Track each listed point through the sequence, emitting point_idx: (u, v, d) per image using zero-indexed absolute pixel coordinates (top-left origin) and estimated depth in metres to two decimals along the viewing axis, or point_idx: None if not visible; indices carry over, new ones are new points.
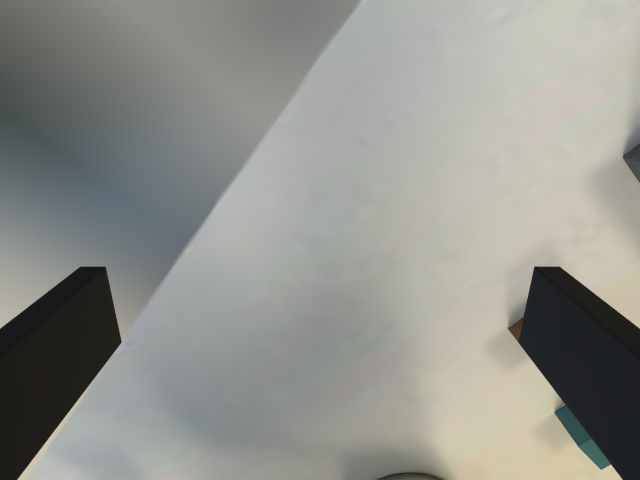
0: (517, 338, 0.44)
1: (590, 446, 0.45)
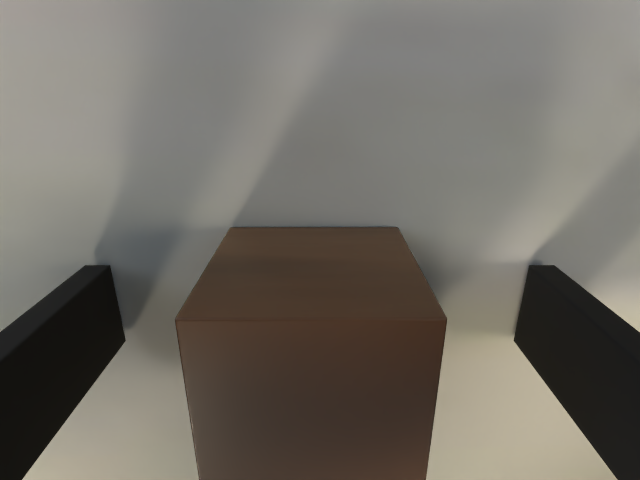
0: (220, 254, 0.10)
1: None
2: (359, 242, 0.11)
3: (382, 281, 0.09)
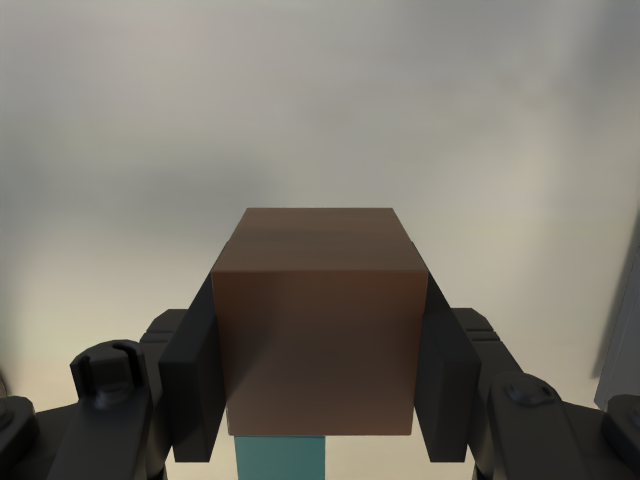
0: (241, 227, 0.12)
1: (252, 449, 0.23)
2: (359, 218, 0.13)
3: (377, 246, 0.11)
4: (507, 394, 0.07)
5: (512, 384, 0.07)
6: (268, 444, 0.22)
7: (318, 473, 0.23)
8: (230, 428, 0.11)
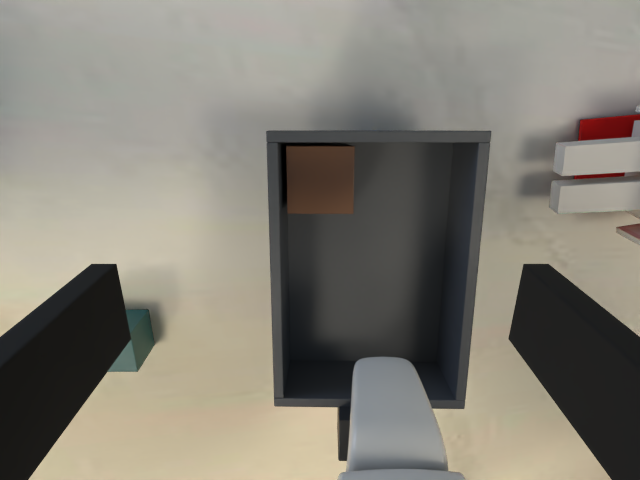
0: None
1: None
2: (336, 145, 0.33)
3: None
4: None
5: None
6: None
7: (131, 354, 0.44)
8: (288, 210, 0.31)
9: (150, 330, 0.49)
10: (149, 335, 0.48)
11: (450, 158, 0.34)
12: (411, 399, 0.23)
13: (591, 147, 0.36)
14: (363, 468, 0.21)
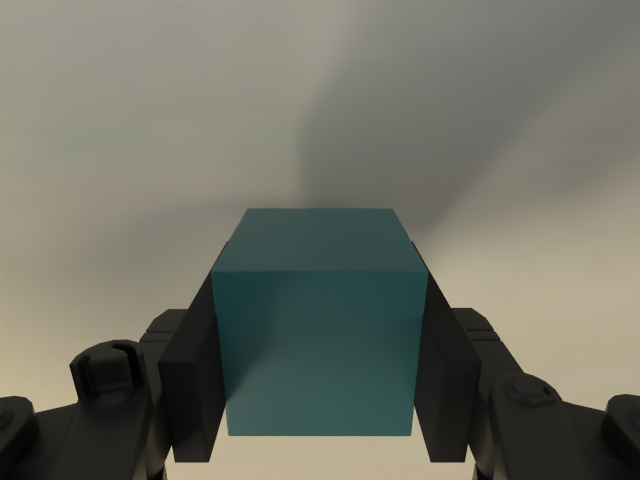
0: None
1: (254, 304, 0.10)
2: None
3: None
4: (508, 394, 0.07)
5: (513, 385, 0.07)
6: (294, 289, 0.09)
7: (404, 366, 0.10)
8: None
9: None
10: None
11: None
12: None
13: None
14: None
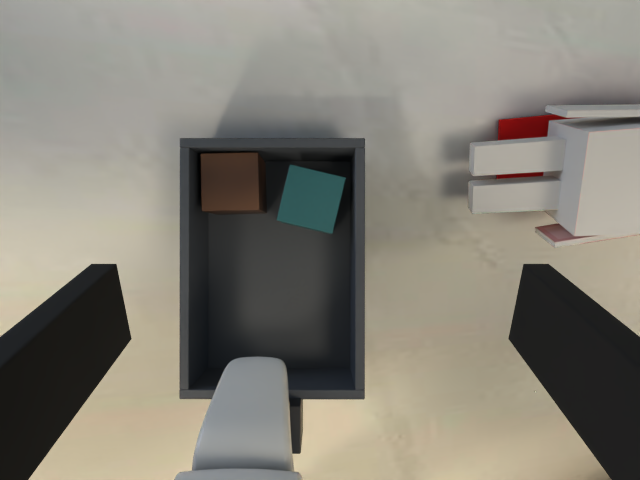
0: None
1: (287, 223, 0.36)
2: None
3: None
4: None
5: None
6: (298, 225, 0.36)
7: (327, 233, 0.38)
8: (202, 207, 0.35)
9: None
10: None
11: (348, 174, 0.40)
12: (267, 399, 0.23)
13: (500, 147, 0.36)
14: (205, 468, 0.21)
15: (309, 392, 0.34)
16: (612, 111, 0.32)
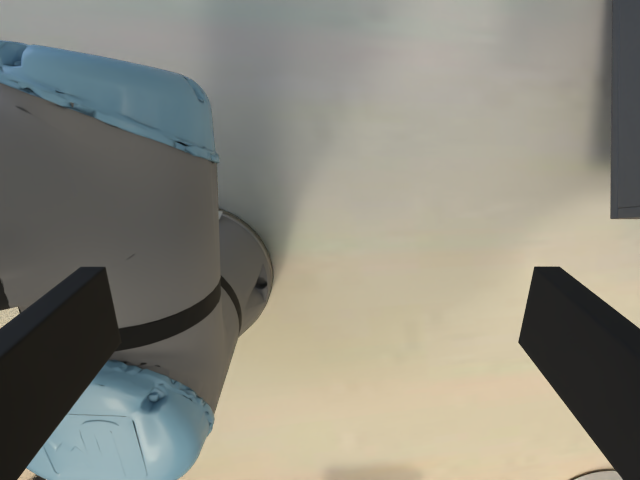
0: None
1: None
2: None
3: None
4: None
5: None
6: None
7: None
8: None
9: None
10: None
11: None
12: None
13: None
14: None
15: None
16: None
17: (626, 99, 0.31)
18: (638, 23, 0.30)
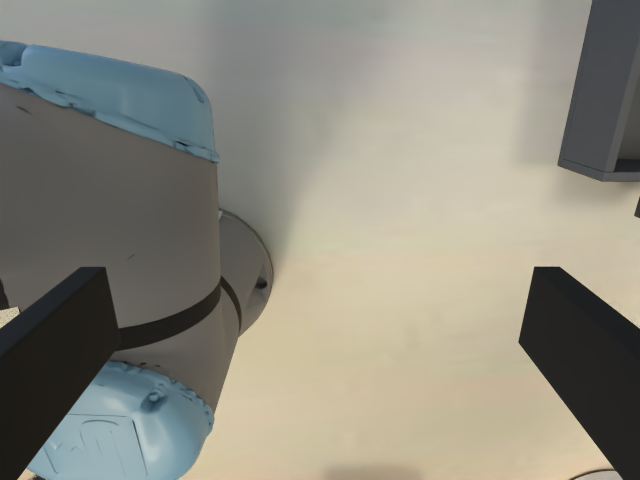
0: None
1: None
2: None
3: None
4: None
5: None
6: None
7: None
8: None
9: None
10: None
11: None
12: None
13: None
14: None
15: None
16: None
17: (589, 64, 0.35)
18: None
